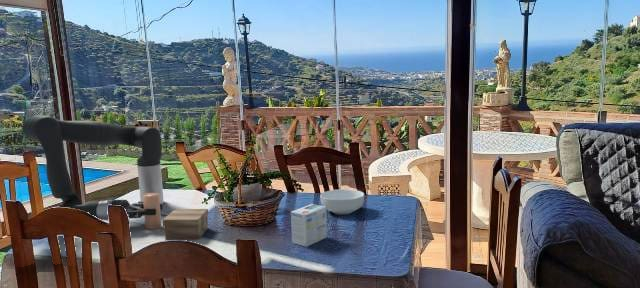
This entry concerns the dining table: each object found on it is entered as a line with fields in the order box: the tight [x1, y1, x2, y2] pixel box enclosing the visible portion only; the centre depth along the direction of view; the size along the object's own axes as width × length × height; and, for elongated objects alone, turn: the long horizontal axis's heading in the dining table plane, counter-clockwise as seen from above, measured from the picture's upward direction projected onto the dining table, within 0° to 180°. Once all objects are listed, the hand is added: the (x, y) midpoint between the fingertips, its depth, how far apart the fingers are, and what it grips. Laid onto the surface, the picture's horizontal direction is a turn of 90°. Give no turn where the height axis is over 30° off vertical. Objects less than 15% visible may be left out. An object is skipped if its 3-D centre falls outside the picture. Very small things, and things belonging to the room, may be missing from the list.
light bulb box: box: [290, 203, 328, 248], centre depth 157 cm, size 11×7×11 cm, turn 141°
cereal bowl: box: [319, 188, 365, 215], centre depth 187 cm, size 17×17×7 cm
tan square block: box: [162, 208, 209, 241], centre depth 167 cm, size 12×12×7 cm
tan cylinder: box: [143, 193, 163, 230], centre depth 175 cm, size 6×6×12 cm
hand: (159, 209), depth 175 cm, fingers closed on tan cylinder, 5 cm apart
